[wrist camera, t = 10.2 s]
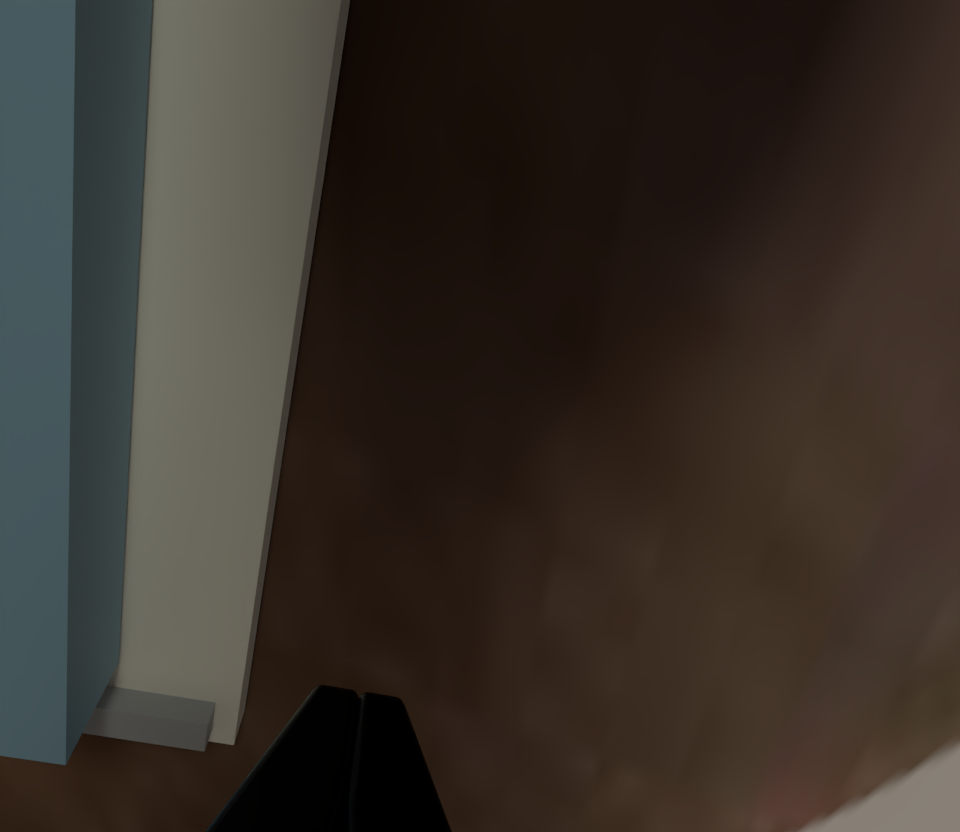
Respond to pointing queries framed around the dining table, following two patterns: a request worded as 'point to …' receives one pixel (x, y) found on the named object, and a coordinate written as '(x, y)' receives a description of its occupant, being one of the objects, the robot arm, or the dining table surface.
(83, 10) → the vise free jaw
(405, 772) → the robot arm
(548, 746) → the dining table surface
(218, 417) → the vise bed
